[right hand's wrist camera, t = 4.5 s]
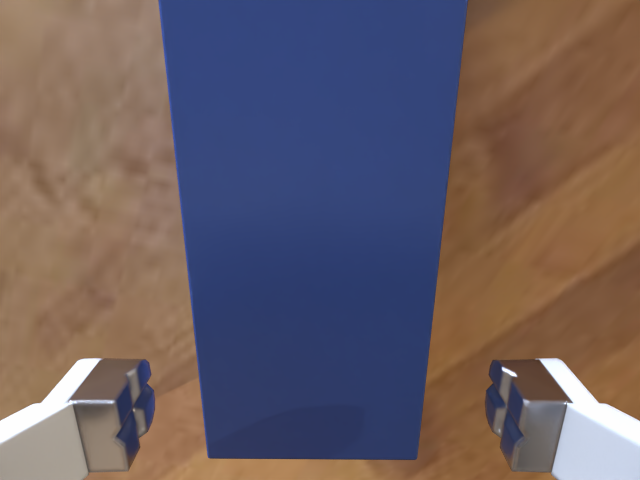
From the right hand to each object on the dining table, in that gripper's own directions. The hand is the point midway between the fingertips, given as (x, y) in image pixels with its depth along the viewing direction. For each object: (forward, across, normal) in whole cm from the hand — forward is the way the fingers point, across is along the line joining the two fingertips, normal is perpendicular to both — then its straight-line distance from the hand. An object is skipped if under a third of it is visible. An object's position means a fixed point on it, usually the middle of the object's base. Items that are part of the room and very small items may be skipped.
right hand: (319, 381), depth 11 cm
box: (+12, 0, -9) cm, 15 cm away
